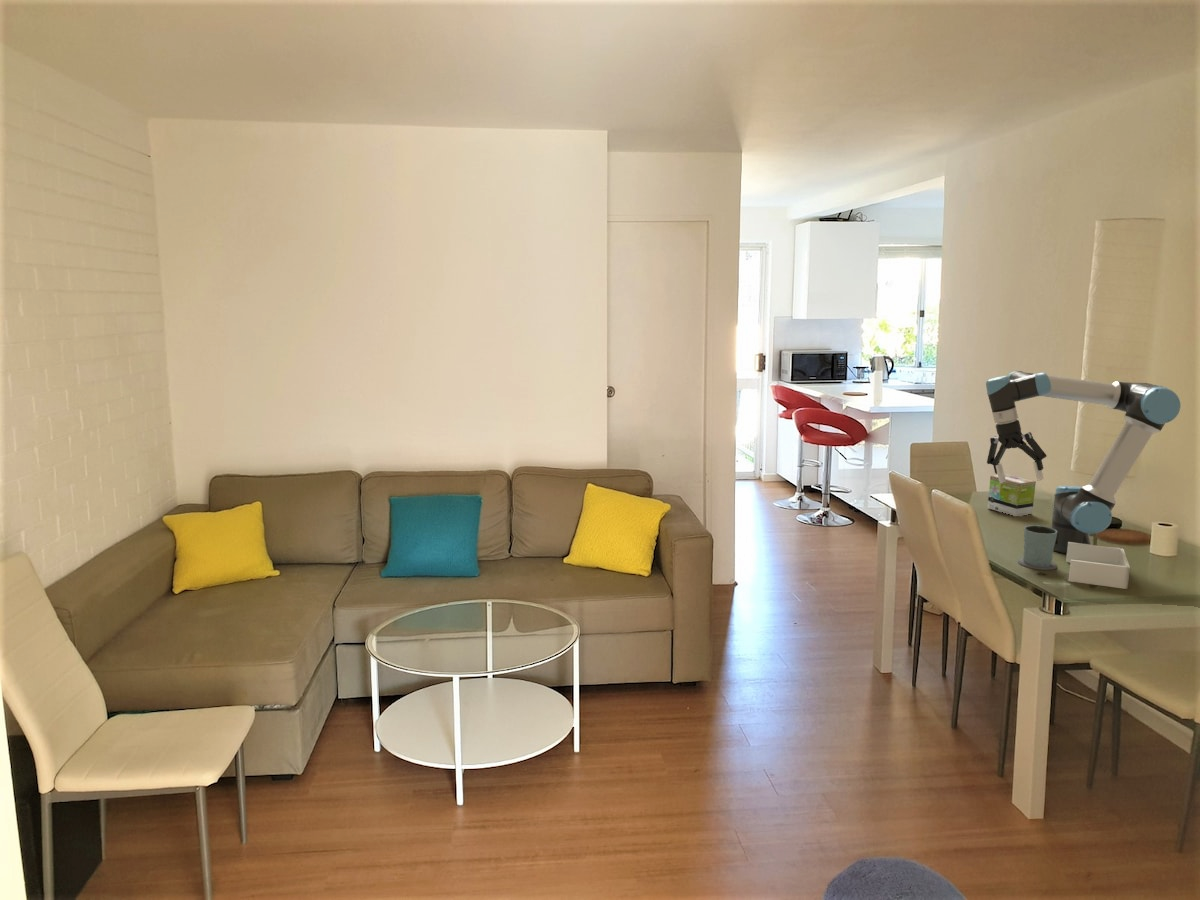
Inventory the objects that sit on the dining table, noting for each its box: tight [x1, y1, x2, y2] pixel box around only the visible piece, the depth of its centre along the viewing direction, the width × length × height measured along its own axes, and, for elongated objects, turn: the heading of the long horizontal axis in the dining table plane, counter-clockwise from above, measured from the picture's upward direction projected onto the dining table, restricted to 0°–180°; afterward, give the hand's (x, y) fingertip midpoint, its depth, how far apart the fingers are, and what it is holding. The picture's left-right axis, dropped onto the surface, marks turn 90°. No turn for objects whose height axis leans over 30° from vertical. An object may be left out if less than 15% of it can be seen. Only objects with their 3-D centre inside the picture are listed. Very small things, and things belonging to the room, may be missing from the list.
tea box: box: [987, 473, 1037, 517], centre depth 367 cm, size 15×10×15 cm
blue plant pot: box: [1022, 524, 1057, 567], centre depth 298 cm, size 10×10×12 cm
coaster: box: [1017, 557, 1058, 571], centre depth 299 cm, size 12×12×1 cm
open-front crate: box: [1065, 542, 1131, 590], centre depth 288 cm, size 23×16×7 cm
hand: (1021, 481), depth 301 cm, fingers open, 13 cm apart
